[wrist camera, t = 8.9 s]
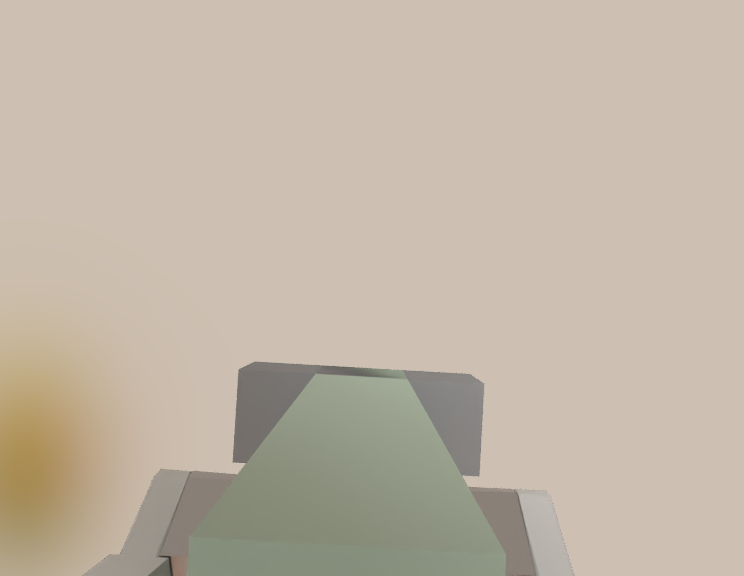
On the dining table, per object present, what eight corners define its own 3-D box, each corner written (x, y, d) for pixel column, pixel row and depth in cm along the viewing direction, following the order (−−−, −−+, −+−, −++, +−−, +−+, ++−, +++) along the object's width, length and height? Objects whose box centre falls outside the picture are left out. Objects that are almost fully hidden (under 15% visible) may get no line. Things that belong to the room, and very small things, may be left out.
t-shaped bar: (756, 893, 6) (769, 569, 6) (-103, 847, 6) (-77, 521, 6) (465, 455, 24) (469, 374, 24) (249, 442, 24) (254, 361, 24)
